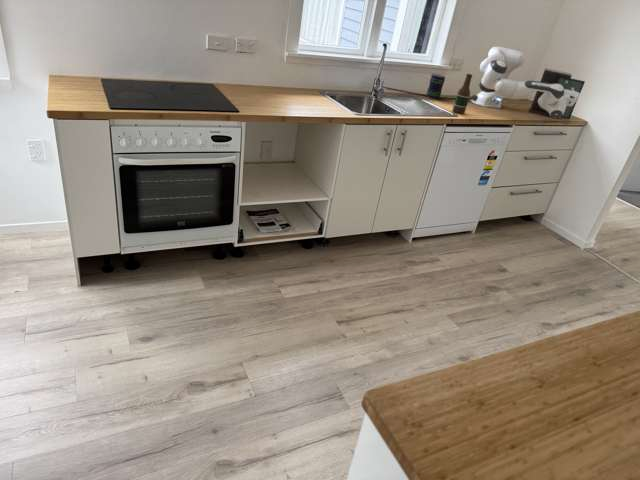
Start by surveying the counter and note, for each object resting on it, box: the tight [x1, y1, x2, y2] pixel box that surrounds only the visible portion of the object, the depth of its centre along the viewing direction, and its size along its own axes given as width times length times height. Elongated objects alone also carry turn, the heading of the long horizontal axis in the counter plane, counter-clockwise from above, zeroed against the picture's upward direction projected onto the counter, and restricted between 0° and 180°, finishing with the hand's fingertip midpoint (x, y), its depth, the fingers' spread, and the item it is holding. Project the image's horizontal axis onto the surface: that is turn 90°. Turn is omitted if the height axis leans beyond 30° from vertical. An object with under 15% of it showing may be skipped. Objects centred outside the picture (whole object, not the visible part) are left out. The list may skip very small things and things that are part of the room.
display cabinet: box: [528, 67, 573, 119], centre depth 349 cm, size 14×18×30 cm
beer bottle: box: [452, 73, 473, 115], centre depth 305 cm, size 8×8×24 cm
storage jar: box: [426, 73, 446, 100], centre depth 339 cm, size 10×10×15 cm
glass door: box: [545, 76, 586, 120], centre depth 338 cm, size 9×17×26 cm, turn 65°
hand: (564, 86), depth 330 cm, fingers open, 8 cm apart
